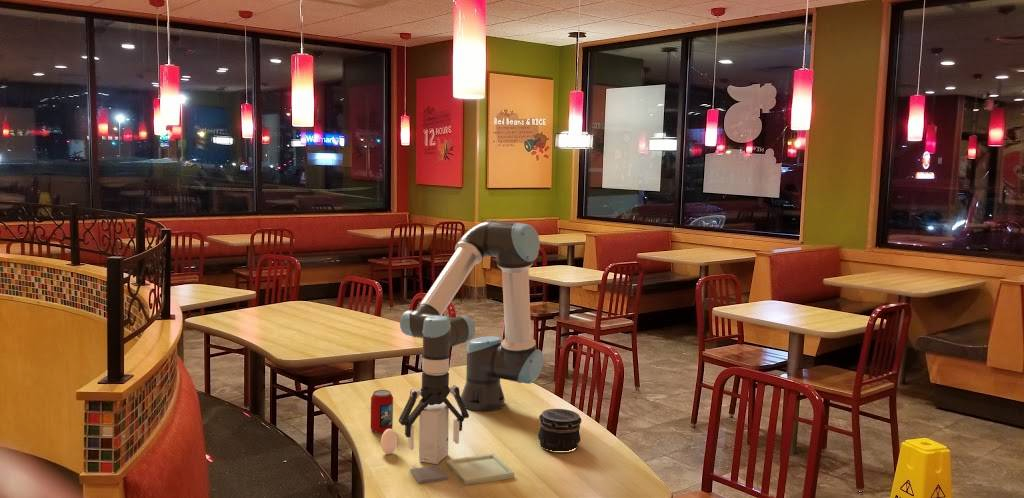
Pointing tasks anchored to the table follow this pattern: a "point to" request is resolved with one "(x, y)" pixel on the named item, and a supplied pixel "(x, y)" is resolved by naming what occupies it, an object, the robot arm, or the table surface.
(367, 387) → the table surface
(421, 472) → the pad
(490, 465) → the tray
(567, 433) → the container
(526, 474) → the table surface
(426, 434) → the skincare box
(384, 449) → the egg
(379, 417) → the beverage can
